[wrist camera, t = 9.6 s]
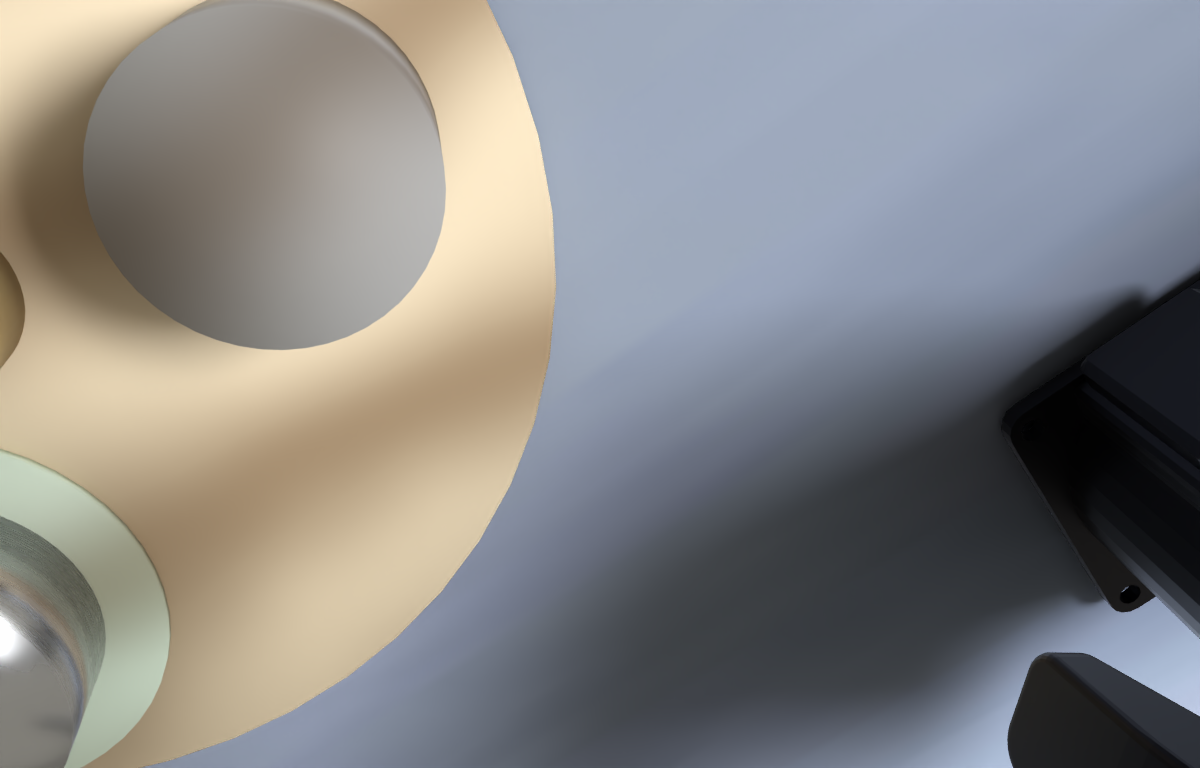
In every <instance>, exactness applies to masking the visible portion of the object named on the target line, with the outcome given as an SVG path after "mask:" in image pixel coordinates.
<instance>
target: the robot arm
mask: <svg viewBox="0 0 1200 768" xmlns="http://www.w3.org/2000/svg"><path fill="white" fill-rule="evenodd" d="M1032 420H1035V422H1034V424H1033V426H1032V427H1031V428H1030V429H1029V430H1028V431H1026V432H1023V433H1021V432H1022V429H1023V427H1024V426H1025V424H1026V423H1027V422H1029V421H1032ZM1001 430H1002V433H1003V436H1004V437H1005V439H1006V441H1007V442H1008V444H1009V446H1010V447H1011V449H1012V451H1013V452H1014V454H1015V455H1016V457H1017V459H1018V460H1019V462H1020V464H1021V465H1022V467H1023V469H1024V470H1025V472H1026V473H1027V475H1028V477H1029V478H1030V480H1031V482H1032V483H1033V485H1034V487H1035V488H1036V490H1037V491H1038V493H1039V495H1040V496H1041V498H1042V500H1043V501H1044V503H1045V505H1046V506H1047V508H1048V509H1049V511H1050V513H1051V514H1052V516H1053V518H1054V519H1055V521H1056V523H1057V524H1058V526H1059V527H1060V529H1061V531H1062V532H1063V534H1064V536H1065V537H1066V539H1067V541H1068V542H1069V544H1070V545H1071V547H1072V549H1073V550H1074V552H1075V554H1076V555H1077V557H1078V559H1079V560H1080V562H1081V563H1082V565H1083V567H1084V568H1085V570H1086V572H1087V573H1088V575H1089V577H1090V578H1091V580H1092V581H1093V583H1094V585H1095V586H1096V588H1097V590H1098V591H1099V593H1100V595H1101V596H1102V597H1103V598H1104V599H1105V600H1106V601H1107V602H1108V604H1109V605H1110V606H1111V607H1112V608H1113V609H1115V610H1116V611H1119V612H1129V611H1132V610H1134V609H1137V608H1139V607H1140V606H1142V605H1143V604H1145V603H1146V602H1148V601H1150V600H1151V599H1153V598H1154V597H1157V598H1158V599H1159V600H1160V601H1161V602H1162V603H1163V604H1164V605H1165V606H1166V607H1167V608H1169V609H1170V610H1171V611H1172V612H1173V613H1174V614H1175V615H1176V616H1177V617H1178V618H1179V619H1180V620H1181V621H1182V622H1183V623H1184V624H1185V625H1186V626H1187V627H1188V628H1189V629H1190V630H1191V631H1192V632H1193V633H1194V634H1195V635H1196V636H1197V637H1198V638H1199V639H1200V280H1199V281H1197V282H1196V283H1194V284H1193V285H1191V286H1190V287H1188V288H1187V289H1185V290H1184V291H1182V292H1181V293H1179V294H1178V295H1176V296H1175V297H1173V298H1172V299H1170V300H1169V301H1168V302H1166V303H1165V304H1163V305H1162V306H1160V307H1159V308H1157V309H1156V310H1154V311H1153V312H1151V313H1150V314H1148V315H1147V316H1145V317H1144V318H1142V319H1141V320H1139V321H1138V322H1136V323H1135V324H1133V325H1132V326H1131V327H1129V328H1128V329H1126V330H1125V331H1123V332H1122V333H1120V334H1119V335H1117V336H1116V337H1114V338H1113V339H1111V340H1110V341H1108V342H1107V343H1105V344H1104V345H1102V346H1101V347H1099V348H1098V349H1097V350H1095V351H1094V352H1092V353H1091V354H1089V355H1088V356H1086V357H1085V358H1083V359H1082V360H1080V361H1079V362H1077V363H1076V364H1074V365H1073V366H1071V367H1070V368H1068V369H1067V370H1065V371H1064V372H1063V373H1061V374H1060V375H1058V376H1057V377H1055V378H1054V379H1052V380H1051V381H1049V382H1048V383H1046V384H1045V385H1043V386H1042V387H1040V388H1039V389H1037V390H1036V391H1034V392H1033V393H1031V394H1030V395H1029V396H1027V397H1026V398H1024V399H1023V400H1021V401H1020V402H1018V403H1017V404H1015V405H1014V406H1013V407H1012V408H1010V409H1009V410H1008V411H1007V412H1006V414H1005V416H1004V418H1003V420H1002V425H1001ZM1128 586H1129V587H1128ZM1126 587H1128V588H1127V589H1126V590H1125V591H1124V592H1122V591H1123V590H1124V589H1125V588H1126ZM1007 740H1008V751H1009V756H1010V760H1011V763H1012V766H1013V768H1200V716H1198V715H1196V714H1194V713H1193V712H1191V711H1189V710H1187V709H1186V708H1184V707H1182V706H1180V705H1178V704H1177V703H1175V702H1173V701H1171V700H1170V699H1168V698H1166V697H1164V696H1162V695H1161V694H1159V693H1157V692H1155V691H1154V690H1152V689H1150V688H1148V687H1146V686H1145V685H1143V684H1141V683H1139V682H1138V681H1136V680H1134V679H1132V678H1131V677H1129V676H1127V675H1125V674H1123V673H1122V672H1120V671H1118V670H1116V669H1115V668H1113V667H1111V666H1109V665H1107V664H1106V663H1104V662H1102V661H1100V660H1099V659H1097V658H1095V657H1093V656H1091V655H1088V654H1084V653H1049V652H1047V653H1044V654H1041V655H1039V656H1038V657H1036V658H1035V660H1034V661H1033V662H1032V663H1031V666H1030V668H1029V670H1028V673H1027V676H1026V679H1025V682H1024V685H1023V688H1022V691H1021V694H1020V697H1019V699H1018V702H1017V705H1016V708H1015V711H1014V714H1013V717H1012V720H1011V723H1010V726H1009V730H1008V739H1007Z"/></svg>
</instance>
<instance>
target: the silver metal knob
mask: <svg viewBox="0 0 1200 768" xmlns="http://www.w3.org/2000/svg"><path fill="white" fill-rule="evenodd" d="M105 645H106V633H105V623H104V619H103V615H102V611H101V608H100V605H99V603H98V600H97V598H96V596H95V594H94V591H93V590H92V588H91V586H90V585H89V583H88V582H87V580H86V579H85V577H84V575H83V574H82V573H81V572H80V571H79V570H78V568H77V567H76V566H75V565H74V564H73V562H72V561H71V560H70V559H68V558H67V557H66V556H65V555H64V554H63V553H62V552H61V551H60V550H59V549H58V548H56V547H55V546H54V545H52V544H51V543H50V542H48V541H47V540H45V539H44V538H43V537H41V536H40V535H38V534H36V533H34V532H33V531H31V530H29V529H27V528H26V527H24V526H22V525H20V524H18V523H15V522H13V521H11V520H8V519H6V518H4V517H1V516H0V768H64V767H65V765H66V763H67V760H68V757H69V755H70V752H71V749H72V747H73V744H74V741H75V738H76V736H77V733H78V730H79V727H80V725H81V722H82V719H83V716H84V714H85V711H86V708H87V706H88V703H89V700H90V697H91V695H92V692H93V689H94V686H95V684H96V681H97V678H98V676H99V673H100V670H101V667H102V663H103V659H104V655H105Z"/></svg>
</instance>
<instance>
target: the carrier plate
mask: <svg viewBox="0 0 1200 768" xmlns="http://www.w3.org/2000/svg"><path fill="white" fill-rule="evenodd" d="M555 292H556V279H555V257H554V236H553V214H552V208H551V203H550V197H549V192H548V186H547V181H546V175H545V170H544V164H543V159H542V153H541V148H540V142H539V137H538V133H537V130H536V127H535V124H534V121H533V118H532V115H531V112H530V109H529V105H528V102H527V99H526V96H525V93H524V90H523V87H522V84H521V81H520V78H519V74H518V71H517V68H516V65H515V62H514V59H513V56H512V54H511V52H510V49H509V47H508V45H507V43H506V41H505V39H504V37H503V35H502V32H501V30H500V28H499V26H498V24H497V22H496V20H495V18H494V15H493V13H492V11H491V9H490V7H489V5H488V3H487V0H0V516H1V517H4V518H6V519H8V520H11V521H13V522H15V523H18V524H20V525H22V526H24V527H26V528H27V529H29V530H31V531H33V532H34V533H36V534H38V535H40V536H41V537H43V538H44V539H45V540H47V541H48V542H50V543H51V544H52V545H54V546H55V547H56V548H58V549H59V550H60V551H61V552H62V553H63V554H64V555H65V556H66V557H67V558H68V559H70V560H71V561H72V562H73V564H74V565H75V566H76V567H77V568H78V570H79V571H80V572H81V573H82V574H83V575H84V577H85V579H86V580H87V582H88V583H89V585H90V586H91V588H92V590H93V591H94V594H95V596H96V598H97V600H98V603H99V605H100V608H101V611H102V615H103V619H104V623H105V633H106V645H105V655H104V659H103V663H102V667H101V670H100V673H99V676H98V678H97V681H96V684H95V686H94V689H93V692H92V695H91V697H90V700H89V703H88V706H87V708H86V711H85V714H84V716H83V719H82V722H81V725H80V727H79V730H78V733H77V736H76V738H75V741H74V744H73V747H72V749H71V752H70V755H69V757H68V760H67V763H66V765H65V767H64V768H140V767H145V766H149V765H153V764H157V763H162V762H166V761H170V760H173V759H176V758H179V757H181V756H184V755H187V754H190V753H193V752H196V751H199V750H202V749H205V748H208V747H210V746H213V745H216V744H219V743H222V742H225V741H228V740H231V739H233V738H236V737H238V736H240V735H242V734H244V733H246V732H248V731H250V730H253V729H255V728H257V727H259V726H261V725H263V724H265V723H267V722H269V721H272V720H274V719H276V718H278V717H280V716H282V715H284V714H286V713H289V712H291V711H293V710H294V709H296V708H298V707H299V706H301V705H302V704H304V703H306V702H307V701H309V700H311V699H312V698H314V697H315V696H317V695H319V694H320V693H322V692H323V691H325V690H327V689H328V688H330V687H332V686H333V685H335V684H336V683H338V682H340V681H341V680H343V679H345V678H346V677H348V676H349V675H350V674H351V673H353V672H354V671H355V670H356V669H358V668H359V667H360V666H361V665H363V664H364V663H365V662H366V661H368V660H369V659H370V658H372V657H373V656H374V655H375V654H377V653H378V652H379V651H380V650H382V649H383V648H384V647H385V646H387V645H388V644H389V643H390V642H392V641H393V640H394V639H395V638H397V637H398V636H399V635H400V634H401V633H402V632H403V631H404V629H405V628H406V627H407V626H408V625H409V624H410V623H411V622H412V621H413V620H414V619H415V618H416V617H417V616H418V615H419V614H420V613H421V612H422V611H423V610H424V609H425V608H426V607H427V606H428V605H429V604H430V603H431V602H432V601H433V600H434V599H435V598H436V597H437V596H438V595H439V594H440V593H441V591H442V590H443V589H444V587H445V586H446V585H447V583H448V582H449V581H450V579H451V578H452V577H453V575H454V574H455V573H456V571H457V570H458V569H459V567H460V566H461V565H462V563H463V562H464V561H465V559H466V558H467V557H468V555H469V554H470V553H471V551H472V550H473V549H474V547H475V546H476V545H477V543H478V542H479V541H480V539H481V537H482V535H483V533H484V532H485V530H486V528H487V526H488V524H489V523H490V521H491V519H492V517H493V515H494V514H495V512H496V510H497V508H498V506H499V505H500V503H501V501H502V499H503V497H504V496H505V494H506V492H507V490H508V488H509V487H510V485H511V482H512V479H513V477H514V474H515V472H516V469H517V467H518V464H519V461H520V459H521V456H522V454H523V451H524V449H525V446H526V443H527V441H528V438H529V436H530V433H531V430H532V428H533V425H534V422H535V418H536V413H537V409H538V405H539V401H540V396H541V392H542V388H543V384H544V379H545V375H546V371H547V367H548V362H549V358H550V347H551V336H552V325H553V314H554V303H555Z"/></svg>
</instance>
